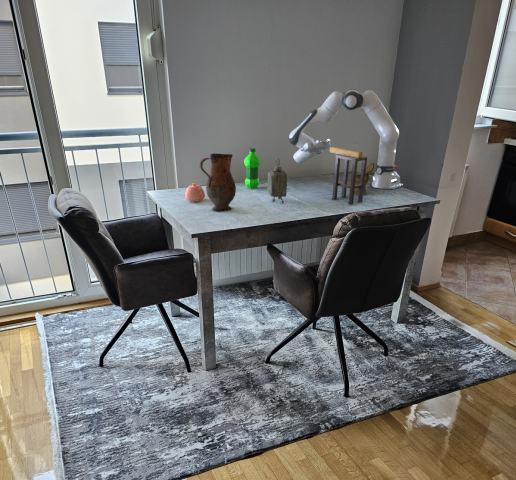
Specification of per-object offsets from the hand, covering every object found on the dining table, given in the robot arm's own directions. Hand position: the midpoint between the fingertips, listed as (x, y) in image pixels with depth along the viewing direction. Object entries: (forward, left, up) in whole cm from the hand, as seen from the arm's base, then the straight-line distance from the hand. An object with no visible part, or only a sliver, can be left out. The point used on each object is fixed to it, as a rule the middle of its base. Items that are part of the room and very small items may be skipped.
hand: (324, 140), depth 300 cm
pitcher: (+83, +2, -31) cm, 88 cm away
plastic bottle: (+35, -31, -31) cm, 56 cm away
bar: (+7, +26, -5) cm, 27 cm away
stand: (+7, +31, -31) cm, 44 cm away
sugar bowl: (+83, -24, -31) cm, 92 cm away
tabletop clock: (+44, +7, -31) cm, 54 cm away
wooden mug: (-15, +23, -31) cm, 41 cm away
